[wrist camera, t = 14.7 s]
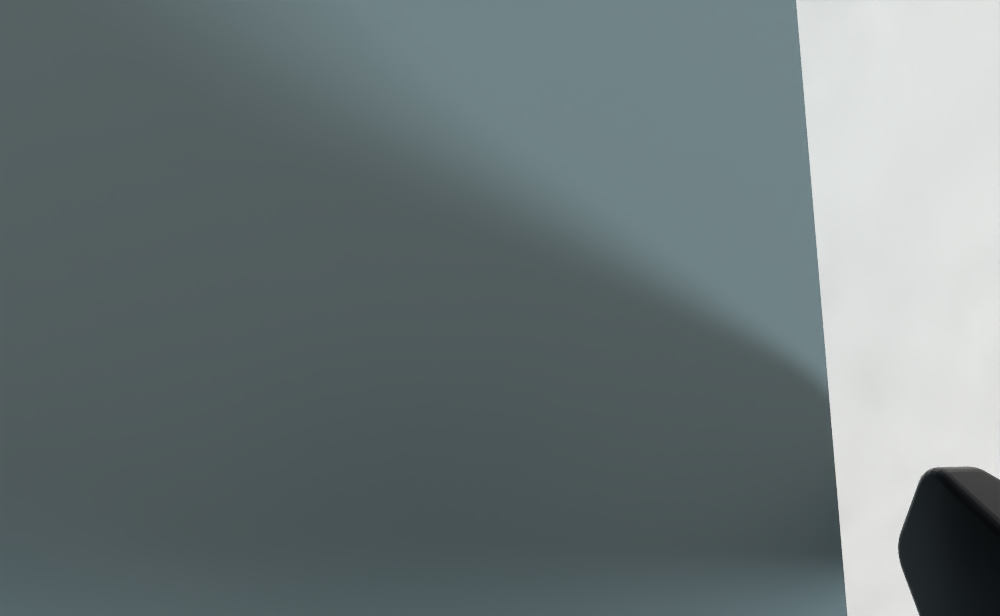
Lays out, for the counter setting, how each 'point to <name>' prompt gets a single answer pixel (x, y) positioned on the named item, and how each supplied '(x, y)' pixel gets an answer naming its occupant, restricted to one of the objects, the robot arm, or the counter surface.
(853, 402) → the counter surface
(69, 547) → the grey-blue slanted prism
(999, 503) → the robot arm
